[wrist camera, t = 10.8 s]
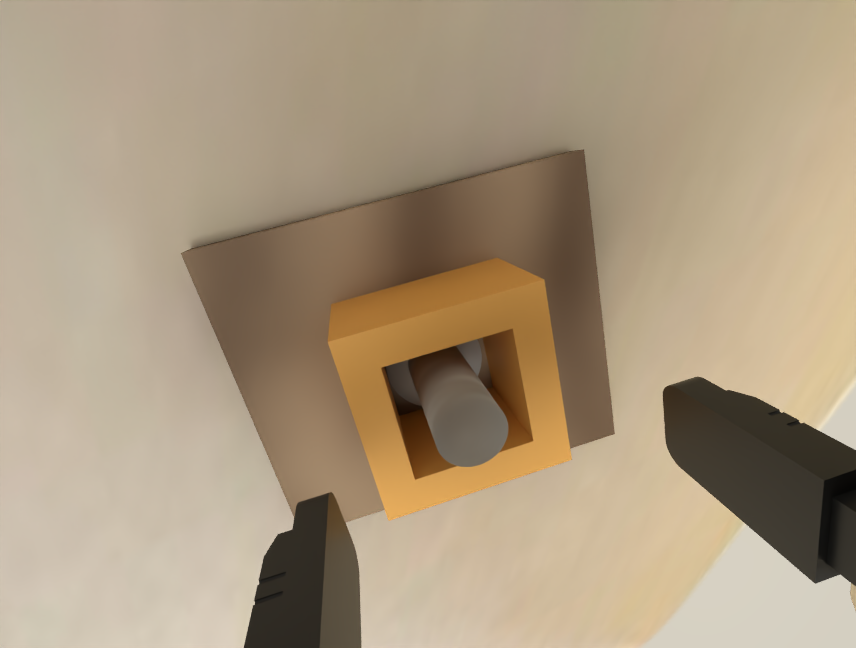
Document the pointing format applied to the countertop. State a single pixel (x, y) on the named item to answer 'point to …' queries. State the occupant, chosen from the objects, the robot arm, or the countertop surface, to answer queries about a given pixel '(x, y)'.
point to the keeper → (387, 267)
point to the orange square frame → (439, 329)
